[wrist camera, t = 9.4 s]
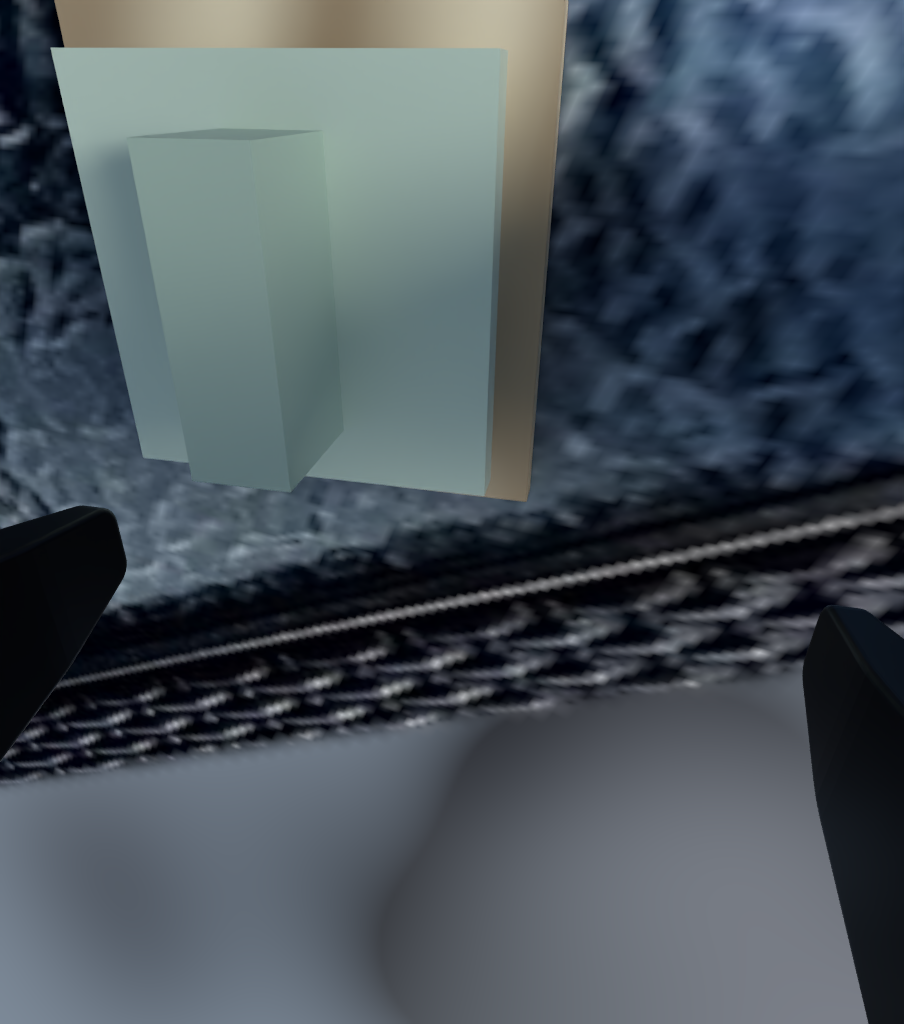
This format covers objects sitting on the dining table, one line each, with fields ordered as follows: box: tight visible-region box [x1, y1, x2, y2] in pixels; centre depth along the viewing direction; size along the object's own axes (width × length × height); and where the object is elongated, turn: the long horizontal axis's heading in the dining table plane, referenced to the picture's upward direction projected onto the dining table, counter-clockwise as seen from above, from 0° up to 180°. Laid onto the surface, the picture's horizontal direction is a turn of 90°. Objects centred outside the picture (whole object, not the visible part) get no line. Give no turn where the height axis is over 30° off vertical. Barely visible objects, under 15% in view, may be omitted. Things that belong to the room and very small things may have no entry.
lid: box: [51, 48, 508, 496], centre depth 17 cm, size 10×10×5 cm
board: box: [55, 0, 568, 502], centre depth 20 cm, size 12×12×1 cm
